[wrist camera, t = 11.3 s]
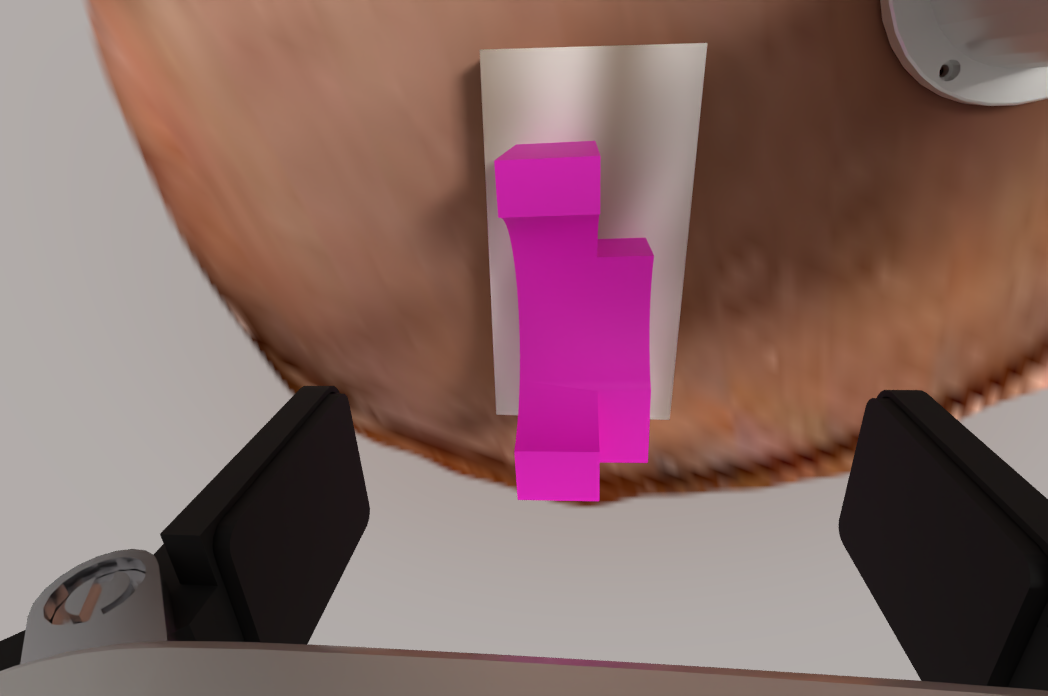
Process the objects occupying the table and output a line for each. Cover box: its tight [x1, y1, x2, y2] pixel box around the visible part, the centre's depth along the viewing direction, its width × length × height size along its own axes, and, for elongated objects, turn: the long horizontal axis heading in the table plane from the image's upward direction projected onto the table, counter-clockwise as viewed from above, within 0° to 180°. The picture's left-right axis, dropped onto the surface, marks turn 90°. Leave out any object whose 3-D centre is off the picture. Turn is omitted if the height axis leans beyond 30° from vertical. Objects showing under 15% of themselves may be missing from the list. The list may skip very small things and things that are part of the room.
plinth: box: [480, 43, 707, 420], centre depth 30 cm, size 10×19×3 cm, turn 1°
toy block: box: [494, 141, 654, 501], centre depth 26 cm, size 15×6×8 cm, turn 3°
